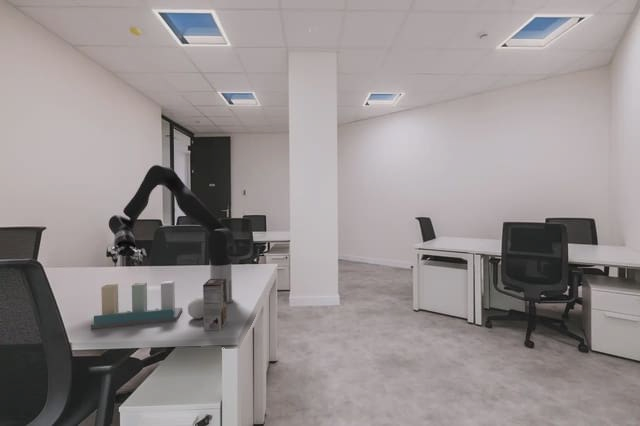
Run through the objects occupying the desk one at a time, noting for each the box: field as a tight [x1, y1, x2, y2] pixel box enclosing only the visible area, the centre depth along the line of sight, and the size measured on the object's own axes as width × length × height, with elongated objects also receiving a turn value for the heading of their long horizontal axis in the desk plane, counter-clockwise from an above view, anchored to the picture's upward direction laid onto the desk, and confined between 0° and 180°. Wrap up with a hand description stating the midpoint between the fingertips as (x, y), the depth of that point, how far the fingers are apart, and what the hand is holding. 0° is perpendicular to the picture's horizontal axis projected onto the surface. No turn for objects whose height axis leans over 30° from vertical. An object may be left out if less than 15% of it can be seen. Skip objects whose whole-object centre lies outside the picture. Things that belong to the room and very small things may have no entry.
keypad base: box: [90, 307, 183, 330], centre depth 118 cm, size 28×12×4 cm, turn 104°
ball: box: [187, 296, 204, 320], centre depth 118 cm, size 8×8×8 cm
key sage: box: [131, 281, 148, 313], centre depth 118 cm, size 4×4×12 cm
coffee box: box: [202, 278, 228, 332], centre depth 110 cm, size 9×6×16 cm
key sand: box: [101, 283, 120, 315], centre depth 115 cm, size 4×4×12 cm
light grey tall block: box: [160, 280, 176, 312], centre depth 120 cm, size 4×4×12 cm
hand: (128, 262), depth 124 cm, fingers open, 8 cm apart
